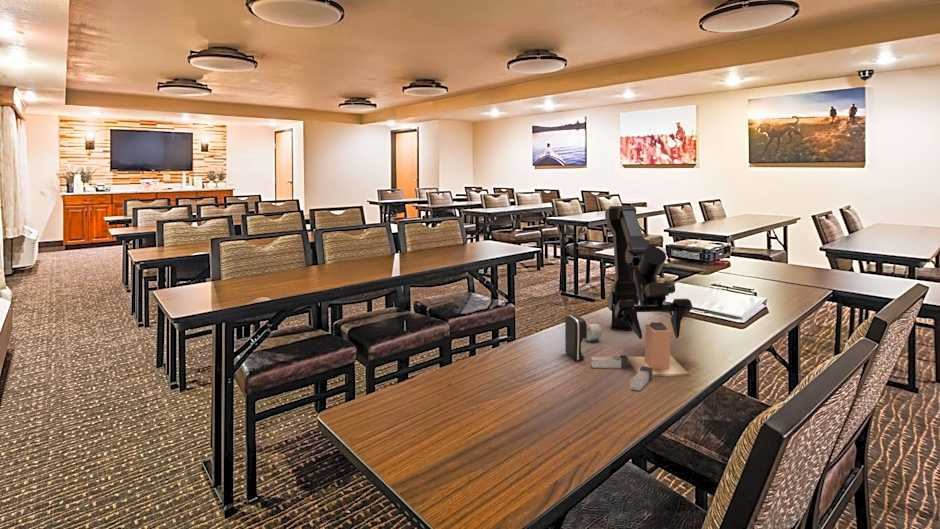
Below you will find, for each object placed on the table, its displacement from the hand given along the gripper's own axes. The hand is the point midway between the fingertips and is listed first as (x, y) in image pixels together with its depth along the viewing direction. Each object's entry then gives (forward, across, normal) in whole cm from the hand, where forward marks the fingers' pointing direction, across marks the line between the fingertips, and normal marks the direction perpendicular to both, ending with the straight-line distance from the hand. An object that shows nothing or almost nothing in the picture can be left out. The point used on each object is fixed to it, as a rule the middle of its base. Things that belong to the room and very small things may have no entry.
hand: (659, 338), depth 133 cm
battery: (-1, -19, +13) cm, 23 cm away
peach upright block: (+4, 0, +6) cm, 8 cm away
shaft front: (+12, -7, 0) cm, 14 cm away
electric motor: (-10, -13, +22) cm, 27 cm away
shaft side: (+4, -12, +8) cm, 15 cm away
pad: (+5, 0, +7) cm, 8 cm away
